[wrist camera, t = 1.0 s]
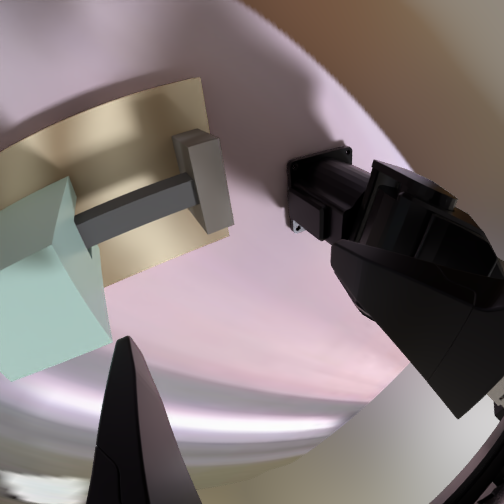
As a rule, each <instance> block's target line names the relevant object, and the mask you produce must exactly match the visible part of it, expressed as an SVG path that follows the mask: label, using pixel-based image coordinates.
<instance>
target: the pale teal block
mask: <svg viewBox="0 0 504 504" xmlns="http://www.w3.org/2000/svg"><path fill="white" fill-rule="evenodd" d="M76 199H77V196H76V194H75V191H74V189H73V186H72V183H71V181H70V178H69V176H67V177H65V178H63V179H61V180H59V181H56V182H54V183H52V184H50V185H48V186H46V187H44V188H42V189H40V190H38V191H36V192H34V193H32V194H30V195H28V196H26V197H24V198H23V199H21V200H19V201H17V202H15V203H13V204H12V205H10V206H8V207H6V208H5V209H3V210H1V211H0V372H1V373H2V374H3V375H4V376H5V377H6V378H7V379H9V380H10V381H11V382H12V381H15V380H18V379H20V378H23V377H26V376H28V375H31V374H34V373H36V372H39V371H41V370H44V369H47V368H49V367H52V366H54V365H57V364H60V363H62V362H65V361H67V360H70V359H72V358H75V357H77V356H80V355H82V354H85V353H87V352H90V351H92V350H95V349H97V348H100V347H102V346H105V345H107V344H110V343H112V342H113V340H112V335H111V330H110V325H109V319H108V313H107V307H106V300H105V293H104V286H103V278H102V270H101V260H100V250H99V247H98V245H95V246H92V247H90V248H88V249H87V248H86V246H85V244H84V242H83V240H82V238H81V236H80V234H79V231H78V229H77V227H76V225H75V223H74V214H75V206H76Z"/></svg>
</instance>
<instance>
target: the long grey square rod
mask: <svg viewBox="0 0 504 504" xmlns="http://www.w3.org/2000/svg"><path fill="white" fill-rule="evenodd" d="M197 204H199V201H198V197H197V193H196V188H195V184H194V180H193V179H192V178H191V177H190V176H189V175H188V174H187V173H186V172H184V173H181V174H178V175H175V176H173V177H170V178H167V179H164V180H161V181H158V182H156V183H153V184H150V185H148V186H145V187H142V188H140V189H137V190H134V191H132V192H129V193H127V194H124V195H122V196H119V197H117V198H114V199H112V200H109V201H107V202H105V203H102V204H100V205H97V206H95V207H93V208H90V209H88V210H86V211H84V212H81V213H79V214H77V215H75V216H74V223H75V225H76V227H77V229H78V231H79V234H80V236H81V238H82V240H83V242H84V244H85V246H86V248H87V249H88V248H90V247H92V246H95V245H97V244H99V243H102V242H104V241H106V240H109V239H111V238H113V237H116V236H118V235H121V234H123V233H125V232H128V231H130V230H133V229H135V228H138V227H140V226H143V225H145V224H148V223H150V222H153V221H155V220H158V219H160V218H163V217H166V216H168V215H171V214H173V213H176V212H179V211H181V210H184V209H187V208H189V207H192V206H195V205H197Z"/></svg>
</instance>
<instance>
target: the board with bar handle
mask: <svg viewBox="0 0 504 504" xmlns="http://www.w3.org/2000/svg"><path fill="white" fill-rule="evenodd" d="M184 172H186V173H187V174H188V175H189V176H190V177H191V178H192V179H193V180H194V184H195V188H196V193H197V197H198V201H199V204H197V205H195V206H192V207H189V208H187V209H184V210H181V211H179V212H176V213H173V214H171V215H168V216H166V217H163V218H160V219H158V220H155V221H153V222H150V223H148V224H145V225H143V226H140V227H138V228H135V229H133V230H130V231H128V232H125V233H123V234H121V235H118V236H116V237H113V238H111V239H109V240H106V241H104V242H102V243H99V244H97V245H98V247H99V250H100V260H101V270H102V278H103V286H104V287H107V286H109V285H111V284H114V283H116V282H118V281H121V280H123V279H125V278H128V277H130V276H132V275H135V274H137V273H140V272H142V271H144V270H147V269H149V268H152V267H154V266H156V265H159V264H161V263H164V262H166V261H168V260H171V259H173V258H176V257H178V256H181V255H183V254H186V253H188V252H191V251H193V250H195V249H198V248H200V247H203V246H205V245H208V244H210V243H213V242H215V241H218V240H220V239H223V238H225V237H228V236H229V232H228V227H229V226H232V225H234V220H233V214H232V208H231V203H230V197H229V192H228V186H227V180H226V174H225V169H224V163H223V157H222V151H221V145H220V139H219V138H218V137H216V136H213V135H211V134H210V130H209V125H208V119H207V113H206V108H205V102H204V96H203V90H202V84H201V78H200V77H198V78H190V79H186V80H182V81H177V82H173V83H169V84H165V85H161V86H158V87H154V88H150V89H147V90H143V91H140V92H137V93H133V94H130V95H127V96H124V97H121V98H118V99H115V100H112V101H109V102H106V103H104V104H101V105H98V106H95V107H93V108H90V109H88V110H85V111H83V112H80V113H78V114H75V115H73V116H70V117H68V118H66V119H64V120H61V121H59V122H57V123H55V124H52V125H50V126H48V127H46V128H44V129H42V130H40V131H38V132H36V133H34V134H32V135H30V136H28V137H26V138H24V139H22V140H20V141H19V142H17V143H15V144H13V145H11V146H10V147H8V148H6V149H4V150H3V151H1V152H0V211H1V210H3V209H5V208H6V207H8V206H10V205H12V204H13V203H15V202H17V201H19V200H21V199H23V198H24V197H26V196H28V195H30V194H32V193H34V192H36V191H38V190H40V189H42V188H44V187H46V186H48V185H50V184H52V183H54V182H56V181H59V180H61V179H63V178H65V177H67V176H69V178H70V181H71V183H72V186H73V189H74V191H75V194H76V196H77V199H76V206H75V214H74V216H75V215H77V214H79V213H81V212H84V211H86V210H88V209H90V208H93V207H95V206H97V205H100V204H102V203H105V202H107V201H109V200H112V199H114V198H117V197H119V196H122V195H124V194H127V193H129V192H132V191H134V190H137V189H140V188H142V187H145V186H148V185H150V184H153V183H156V182H158V181H161V180H164V179H167V178H170V177H173V176H175V175H178V174H181V173H184Z"/></svg>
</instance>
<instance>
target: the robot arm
mask: <svg viewBox="0 0 504 504" xmlns="http://www.w3.org/2000/svg"><path fill="white" fill-rule="evenodd" d="M346 151H347V153H346ZM293 165H295V167H294V168H293ZM372 167H373V168H372V171H371V173H369V172H367V171H365V170H362V169H360V168H358V167H356V166H354V165H352V149H351V148H350V147H348V146H342V147H338V148H334V149H330V150H326V151H322V152H318V153H315V154H311V155H307V156H303V157H300V158H296V159H292V160H290V161H289V162H288V164H287V175H288V206H289V217H290V223H291V230H292V231H293V232H294V233H300V232H302V231H305V230H307V231H308V232H309V233H311V234H312V235H313V236H315V237H316V238H317V239H318V240H320V241H324V240H325V241H327V242H328V243H329V244H331V245H332V246H331V266H332V268H333V270H334V273H335V274H336V276H337V277H338V279H339V280H340V282H341V284H342V285H343V287H344V288H345V290H346V291H347V293H348V295H349V296H350V298H351V299H352V301H353V303H354V304H355V306H356V307H357V308H358V310H359V311H360V312H361V313H362V314H363V315H364V316H366V317H367V318H369V319H371V320H373V321H375V322H376V323H377V324H378V325H379V326H380V327H381V329H382V330H383V331H384V332H385V333H386V334H387V335H388V337H389V338H390V339H391V340H392V341H393V342H394V343H395V345H396V346H397V347H398V348H399V349H400V350H401V352H402V353H403V354H404V355H405V356H406V357H407V359H408V360H409V361H410V362H411V363H412V364H413V366H414V367H415V368H416V369H417V370H418V372H419V373H420V374H421V375H422V376H423V377H424V379H425V380H426V381H427V382H428V384H429V385H430V386H431V387H432V389H433V390H434V391H435V392H436V393H437V395H438V396H439V397H440V398H441V400H442V401H443V402H444V403H445V405H446V406H447V407H448V408H449V409H450V411H451V412H452V413H453V414H454V416H455V417H456V418H457V419H459V418H461V417H462V416H463V415H464V414H465V413H467V412H468V411H469V410H470V409H471V408H472V407H473V406H474V405H475V404H476V403H478V402H479V401H480V400H481V399H482V398H483V397H484V396H485V395H486V394H487V395H488V396H489V397H490V398H491V399H492V400H493V401H494V413H495V416H496V417H497V418H498V419H499V420H500V422H499V424H498V425H497V427H496V428H495V430H494V431H493V432H492V434H491V435H490V437H489V438H488V439H487V441H486V442H485V443H484V445H483V446H482V447H481V448H480V450H479V451H478V452H477V453H476V455H475V456H474V457H473V458H472V459H471V461H470V462H469V463H468V464H467V465H466V466H465V468H464V469H463V470H462V471H461V472H460V473H459V474H458V475H457V476H456V478H455V479H454V480H453V481H452V482H451V483H450V484H449V485H448V486H447V487H446V488H445V489H444V490H443V491H442V492H441V493H440V494H439V495H438V496H437V497H436V498H435V499H434V500H433V501H432V502H431V503H429V504H504V261H503V260H501V259H499V258H498V257H497V256H496V254H495V252H494V250H493V248H492V246H491V245H490V242H489V241H488V239H487V237H486V235H485V233H484V232H483V231H482V230H481V228H480V227H479V226H478V225H477V223H476V222H475V221H474V220H473V219H472V217H471V216H470V215H469V214H468V213H466V212H464V211H462V210H460V209H459V208H457V207H455V205H456V203H457V200H458V199H457V198H456V197H455V196H454V195H452V194H451V193H449V192H448V191H446V190H445V189H443V188H442V187H440V186H439V185H437V184H436V183H434V182H433V181H431V180H429V179H427V178H425V177H423V176H420V175H418V174H416V173H414V172H412V171H409V170H407V169H404V168H401V167H397V166H394V165H391V164H388V163H384V162H381V161H378V160H373V163H372ZM297 226H298V227H297ZM296 227H297V228H296ZM96 445H97V446H96V447H95V454H94V462H93V468H92V475H91V480H90V486H89V491H88V496H87V501H86V504H202V502H201V500H200V498H199V496H198V494H197V491H196V489H195V487H194V484H193V482H192V480H191V478H190V475H189V473H188V470H187V468H186V465H185V463H184V461H183V458H182V455H181V453H180V450H179V448H178V445H177V442H176V440H175V437H174V434H173V431H172V428H171V426H170V423H169V420H168V417H167V414H166V411H165V408H164V405H163V402H162V399H161V397H160V395H159V392H158V390H157V388H156V385H155V383H154V381H153V378H152V376H151V374H150V371H149V369H148V366H147V364H146V361H145V359H144V357H143V354H142V353H141V351H140V349H139V348H138V347H137V345H136V344H135V342H134V341H133V339H132V338H131V337H130V336H126V337H123V338H121V339H118V340H117V342H116V345H115V349H114V353H113V357H112V362H111V366H110V370H109V375H108V380H107V384H106V389H105V394H104V399H103V404H102V410H101V415H100V421H99V427H98V434H97V441H96Z"/></svg>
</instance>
